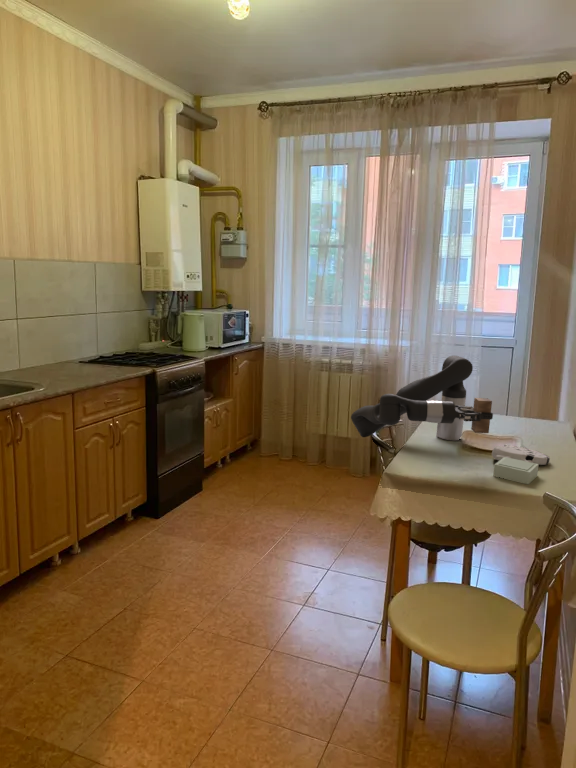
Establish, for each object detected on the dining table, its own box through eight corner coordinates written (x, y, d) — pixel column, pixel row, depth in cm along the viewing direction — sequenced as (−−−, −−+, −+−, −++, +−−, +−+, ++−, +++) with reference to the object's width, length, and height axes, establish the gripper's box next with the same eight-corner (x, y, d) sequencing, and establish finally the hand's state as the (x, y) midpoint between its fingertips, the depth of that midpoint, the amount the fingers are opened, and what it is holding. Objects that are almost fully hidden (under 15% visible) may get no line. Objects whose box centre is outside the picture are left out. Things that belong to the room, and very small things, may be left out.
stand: (493, 476, 186) (494, 463, 185) (503, 468, 195) (504, 456, 194) (528, 484, 180) (529, 471, 179) (537, 475, 188) (538, 463, 188)
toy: (476, 451, 213) (498, 466, 193) (479, 439, 212) (501, 452, 193) (533, 460, 214) (560, 476, 194) (535, 448, 214) (563, 462, 194)
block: (475, 432, 190) (478, 400, 188) (471, 429, 195) (474, 397, 193) (488, 433, 190) (492, 401, 188) (484, 429, 195) (487, 398, 193)
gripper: (433, 417, 199) (482, 420, 199) (442, 428, 185) (495, 430, 185) (435, 396, 198) (484, 399, 198) (444, 405, 184) (498, 408, 184)
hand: (489, 414), depth 191 cm, fingers closed on block, 4 cm apart
